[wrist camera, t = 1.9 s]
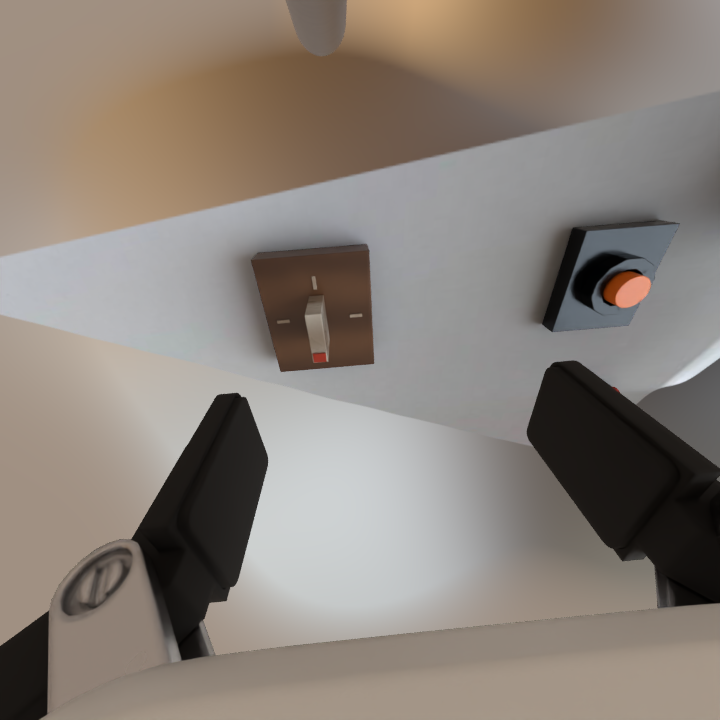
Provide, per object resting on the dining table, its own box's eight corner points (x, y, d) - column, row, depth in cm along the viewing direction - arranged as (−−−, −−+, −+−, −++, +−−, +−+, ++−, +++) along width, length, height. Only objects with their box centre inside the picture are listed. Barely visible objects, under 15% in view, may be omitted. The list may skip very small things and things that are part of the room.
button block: (572, 227, 32) (599, 233, 29) (660, 220, 32) (698, 226, 29) (541, 324, 39) (561, 339, 35) (615, 318, 39) (641, 332, 35)
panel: (257, 252, 32) (250, 260, 29) (366, 244, 32) (369, 250, 29) (284, 359, 39) (280, 372, 37) (371, 351, 39) (374, 364, 37)
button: (610, 272, 31) (623, 277, 30) (643, 269, 31) (657, 274, 30) (597, 303, 33) (609, 309, 32) (628, 300, 33) (641, 306, 32)
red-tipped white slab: (308, 296, 31) (303, 316, 27) (323, 294, 31) (321, 314, 27) (316, 339, 34) (312, 364, 30) (329, 338, 34) (328, 363, 30)
